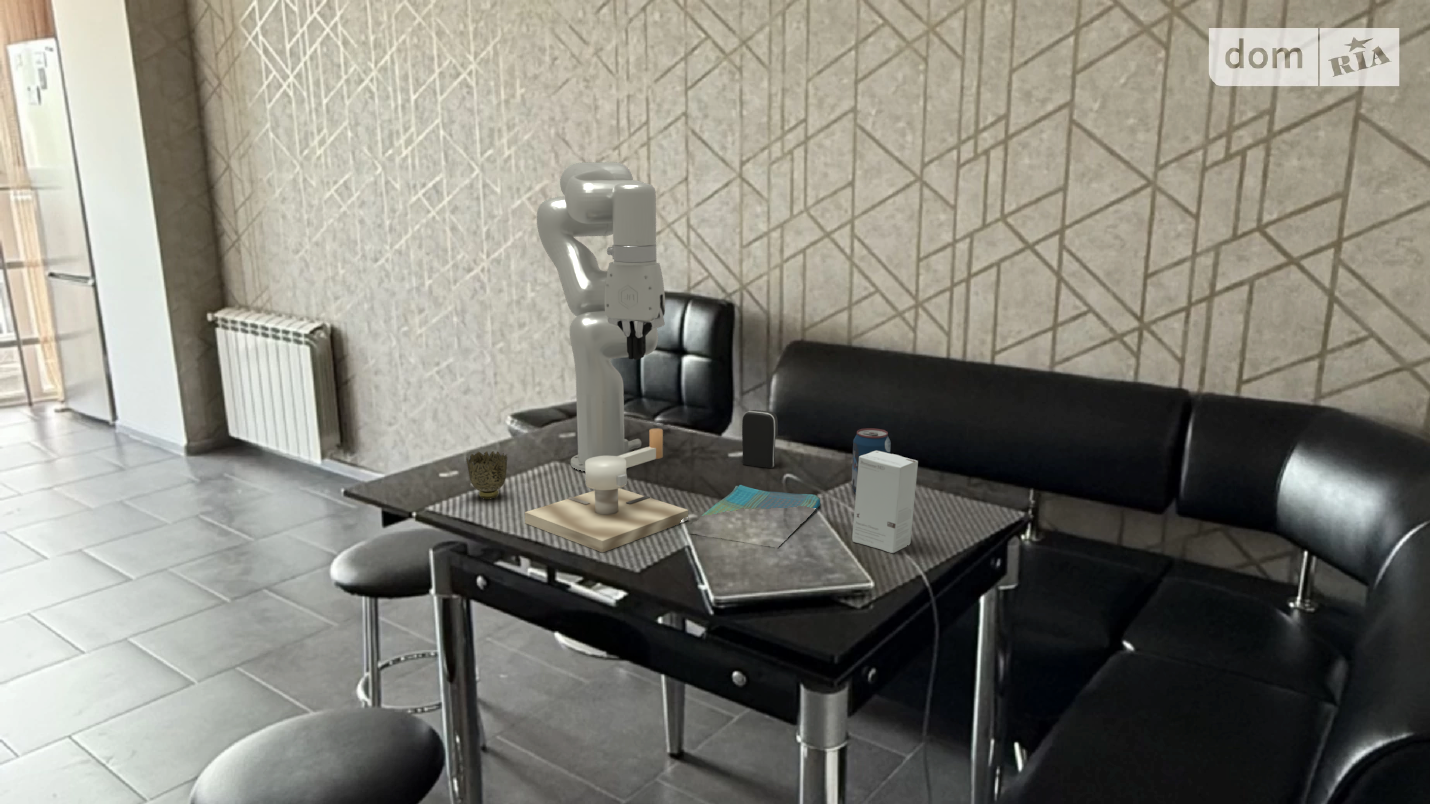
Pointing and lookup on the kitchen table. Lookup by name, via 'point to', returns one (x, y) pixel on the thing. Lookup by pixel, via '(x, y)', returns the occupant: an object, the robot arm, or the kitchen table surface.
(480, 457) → the cup
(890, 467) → the skincare box
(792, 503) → the dish towel
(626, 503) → the post board
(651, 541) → the kitchen table surface
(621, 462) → the crank handle
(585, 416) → the robot arm
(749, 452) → the battery charger
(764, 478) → the kitchen table surface
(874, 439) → the soda can
